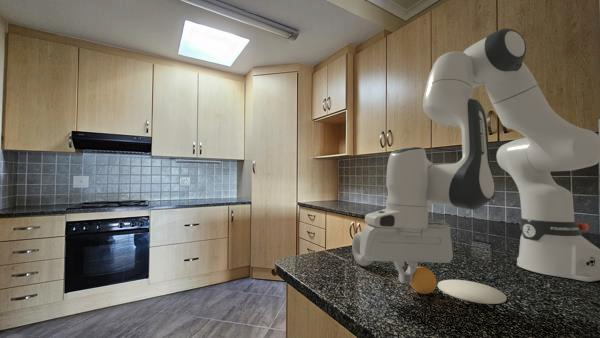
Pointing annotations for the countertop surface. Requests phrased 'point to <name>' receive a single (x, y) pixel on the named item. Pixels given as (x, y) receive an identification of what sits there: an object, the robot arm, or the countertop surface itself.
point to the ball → (423, 280)
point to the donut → (358, 250)
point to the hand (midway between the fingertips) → (405, 281)
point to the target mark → (472, 291)
